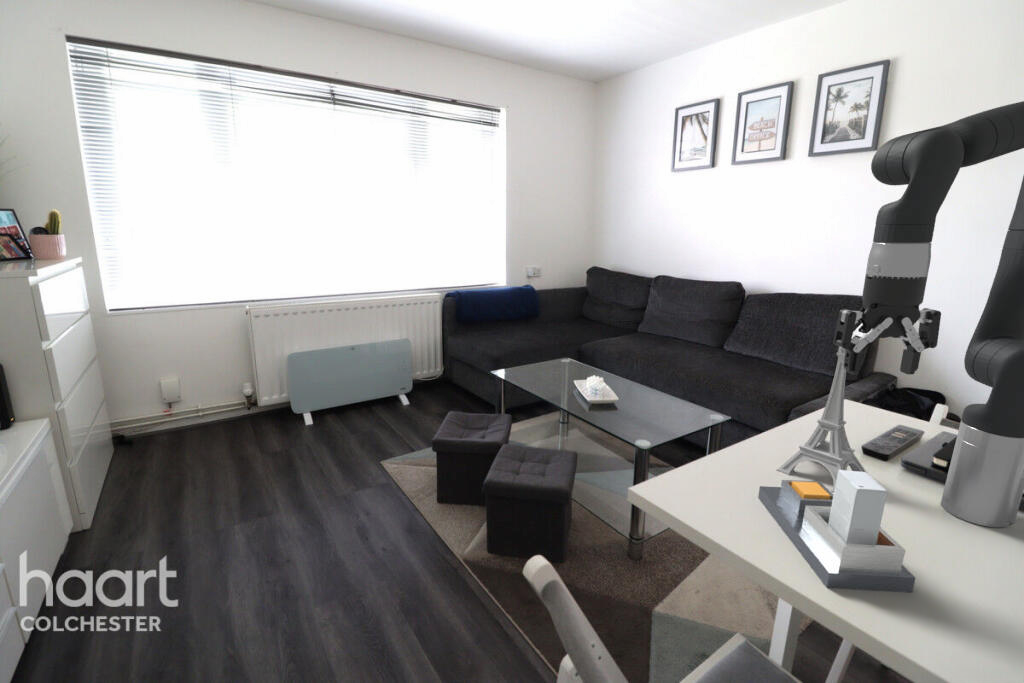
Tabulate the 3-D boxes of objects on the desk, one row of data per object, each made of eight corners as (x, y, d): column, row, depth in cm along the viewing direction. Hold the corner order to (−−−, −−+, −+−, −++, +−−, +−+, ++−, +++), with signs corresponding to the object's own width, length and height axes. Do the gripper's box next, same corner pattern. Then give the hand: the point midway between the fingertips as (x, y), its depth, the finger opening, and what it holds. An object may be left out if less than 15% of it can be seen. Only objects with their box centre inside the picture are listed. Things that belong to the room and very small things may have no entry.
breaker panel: (821, 500, 94) (827, 470, 92) (912, 592, 70) (921, 553, 69) (758, 497, 94) (762, 467, 93) (826, 587, 71) (833, 549, 70)
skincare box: (873, 562, 73) (889, 491, 70) (843, 559, 73) (857, 489, 71) (853, 537, 79) (866, 471, 76) (824, 534, 79) (836, 468, 76)
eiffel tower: (802, 453, 113) (823, 328, 106) (869, 477, 103) (897, 340, 96) (776, 470, 105) (796, 337, 98) (846, 497, 95) (874, 350, 88)
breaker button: (814, 496, 89) (816, 482, 89) (827, 510, 85) (830, 495, 84) (789, 495, 90) (792, 481, 89) (801, 509, 86) (804, 494, 85)
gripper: (925, 269, 77) (907, 366, 81) (833, 270, 78) (820, 366, 82) (965, 274, 70) (944, 380, 74) (863, 275, 71) (847, 380, 75)
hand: (879, 373), depth 78 cm, fingers open, 8 cm apart
